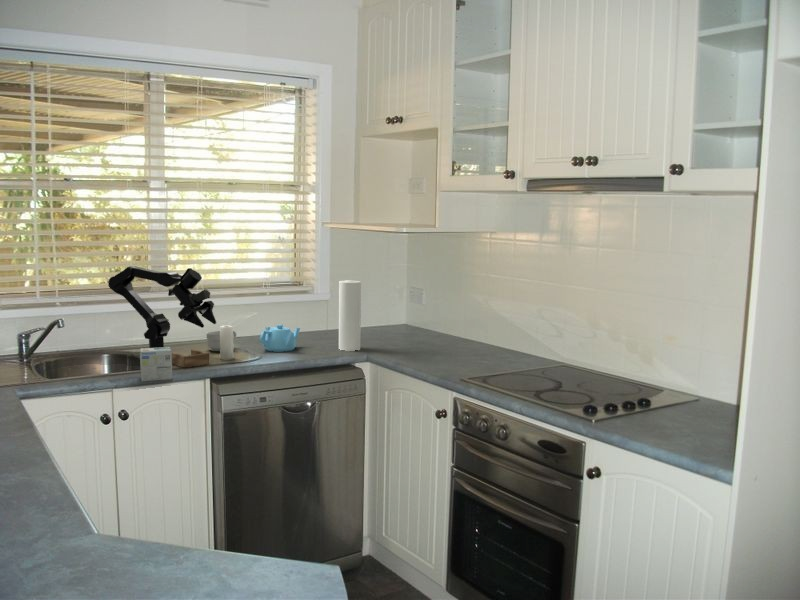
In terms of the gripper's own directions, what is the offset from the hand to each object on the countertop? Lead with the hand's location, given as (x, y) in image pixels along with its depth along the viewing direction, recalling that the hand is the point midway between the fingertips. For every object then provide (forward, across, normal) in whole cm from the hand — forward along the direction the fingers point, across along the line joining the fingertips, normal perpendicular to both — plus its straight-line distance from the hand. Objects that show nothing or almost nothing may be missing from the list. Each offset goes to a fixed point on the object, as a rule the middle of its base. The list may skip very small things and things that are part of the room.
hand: (209, 325), depth 309 cm
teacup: (+7, +15, +12) cm, 20 cm away
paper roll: (+15, 0, +4) cm, 15 cm away
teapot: (+23, +26, -4) cm, 34 cm away
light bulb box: (+11, -40, +8) cm, 42 cm away
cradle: (+9, -14, +10) cm, 19 cm away
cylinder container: (+42, +37, -23) cm, 61 cm away
